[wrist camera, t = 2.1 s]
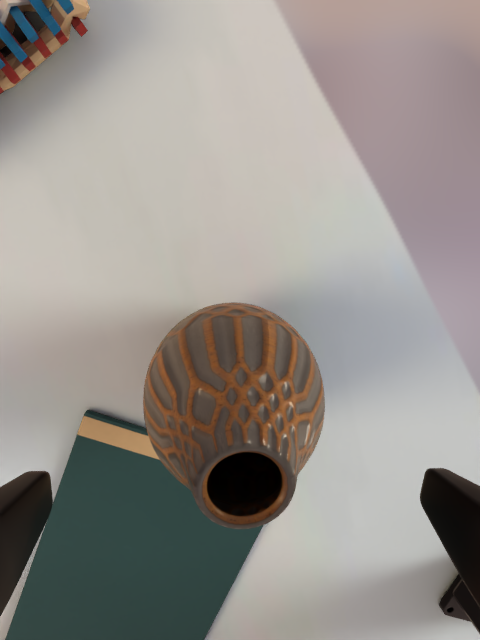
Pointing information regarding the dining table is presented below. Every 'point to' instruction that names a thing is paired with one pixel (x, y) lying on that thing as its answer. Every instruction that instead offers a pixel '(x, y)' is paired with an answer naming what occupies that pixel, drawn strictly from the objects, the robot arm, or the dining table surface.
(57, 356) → the dining table surface
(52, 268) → the dining table surface
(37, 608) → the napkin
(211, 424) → the vase
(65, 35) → the woven mat
